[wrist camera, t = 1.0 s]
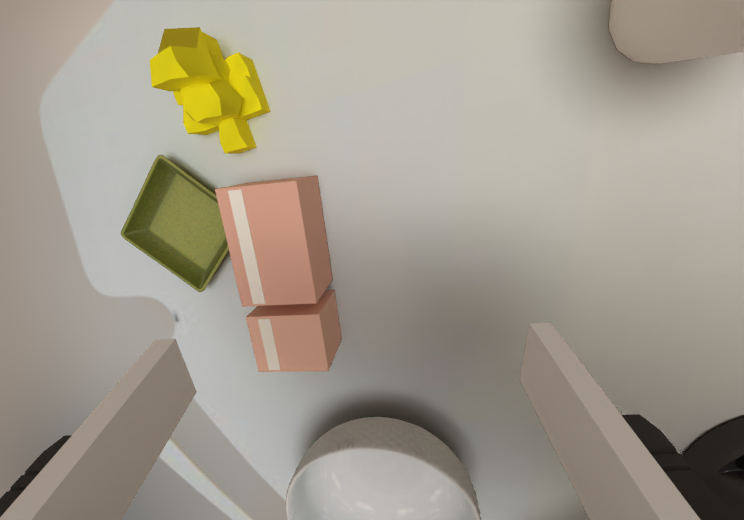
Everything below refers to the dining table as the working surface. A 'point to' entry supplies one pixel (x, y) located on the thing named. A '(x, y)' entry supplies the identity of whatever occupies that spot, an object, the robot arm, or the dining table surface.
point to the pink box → (296, 335)
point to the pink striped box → (276, 240)
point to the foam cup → (676, 29)
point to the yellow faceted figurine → (209, 86)
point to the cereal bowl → (380, 476)
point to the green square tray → (178, 224)
